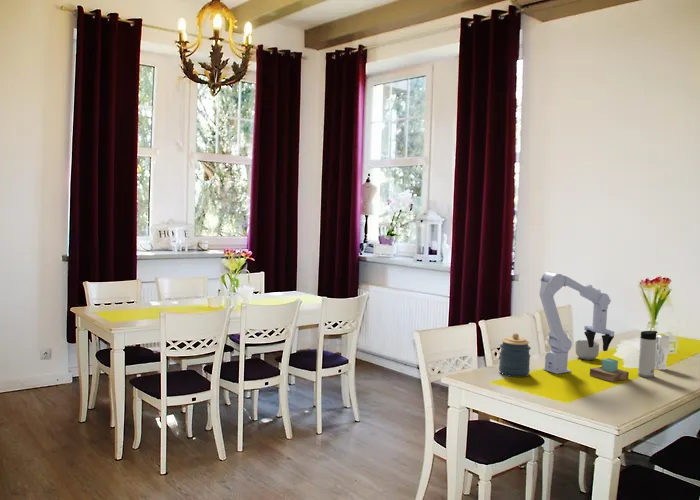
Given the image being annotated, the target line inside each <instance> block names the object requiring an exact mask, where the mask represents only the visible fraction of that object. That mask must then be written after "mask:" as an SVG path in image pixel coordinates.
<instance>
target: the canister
mask: <svg viewBox="0 0 700 500" xmlns="http://www.w3.org/2000/svg"><path fill="white" fill-rule="evenodd" d="M501 342H502V343H501V344H499V348H500V352H499V364H498V365H499V366H498V372H499V371H500V372H501V373H503V374H506V375H510V376H509V377H511V376H525V377H528V376H529V374H530V372H531V371H530V370H531V369H530V362H531V359H530V358H531V354H530V350H531V346H530V345H529V344H530V341H528V340H527V339H526V338H523V337H520V336H519V334H518V333H513V334H512V336H506V337H505V338H503V339H502V340H501ZM500 372H499V373H500ZM501 373H500V374H501ZM503 374H502V375H503ZM506 375H505V376H506ZM527 375H528V376H527Z"/></svg>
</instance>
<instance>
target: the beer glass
mask: <svg viewBox="0 0 700 500" xmlns="http://www.w3.org/2000/svg"><path fill="white" fill-rule="evenodd" d="M669 351H670V336H668V335H665V334H664V335H663V334H656V351H655V366H654V370H656V371H657V370H658V371H666V370H667V357H668V354H669Z"/></svg>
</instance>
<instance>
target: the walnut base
mask: <svg viewBox="0 0 700 500" xmlns="http://www.w3.org/2000/svg"><path fill="white" fill-rule="evenodd" d="M629 374H630V373H629V371H627V370H622V369H619V368H618V369H617V371H614V372H608V371H605V370H602V366H599V367H591V368H590V369H589V376H590V377H594V378H597V379H600V380H604V381H606V382H607V381H608V382H610V383H614V382H619V381H624V380H628V379H629Z"/></svg>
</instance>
